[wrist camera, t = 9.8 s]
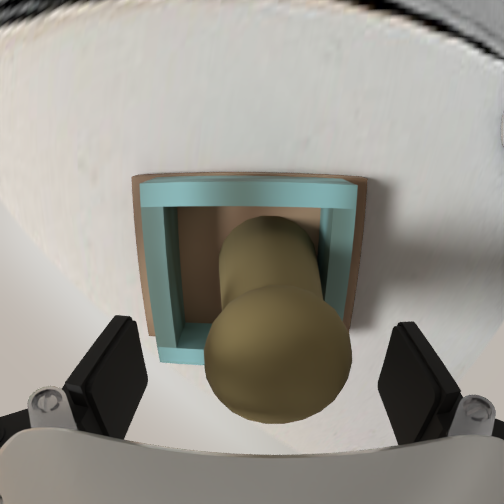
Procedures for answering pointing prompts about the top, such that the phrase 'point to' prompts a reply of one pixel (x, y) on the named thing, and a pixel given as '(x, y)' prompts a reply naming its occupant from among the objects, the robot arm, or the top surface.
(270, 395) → the cork
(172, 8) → the top surface
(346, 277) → the board
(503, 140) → the rubber duck
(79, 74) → the top surface
